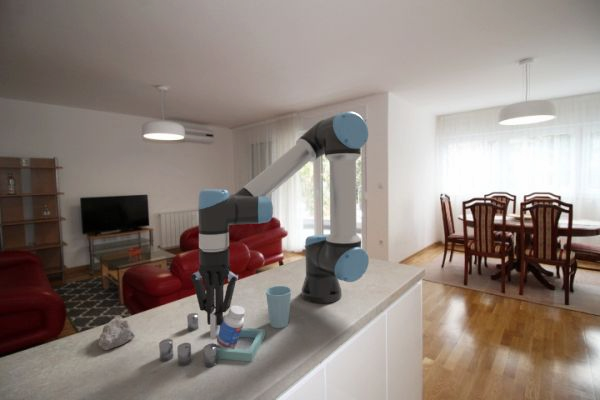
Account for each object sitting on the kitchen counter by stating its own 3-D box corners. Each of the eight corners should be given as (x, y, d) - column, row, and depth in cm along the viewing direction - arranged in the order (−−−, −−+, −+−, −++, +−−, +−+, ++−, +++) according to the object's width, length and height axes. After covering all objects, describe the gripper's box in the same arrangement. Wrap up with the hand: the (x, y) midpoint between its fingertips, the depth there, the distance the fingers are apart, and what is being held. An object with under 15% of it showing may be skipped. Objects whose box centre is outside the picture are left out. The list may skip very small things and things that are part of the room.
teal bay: (264, 336, 78) (264, 329, 78) (251, 361, 67) (251, 353, 67) (233, 333, 80) (233, 327, 80) (216, 358, 69) (215, 350, 69)
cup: (291, 316, 90) (290, 285, 89) (292, 329, 82) (291, 294, 81) (267, 318, 89) (266, 286, 88) (266, 331, 81) (265, 296, 81)
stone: (99, 355, 71) (97, 333, 71) (97, 339, 79) (96, 319, 79) (136, 343, 76) (134, 322, 76) (130, 329, 84) (129, 310, 84)
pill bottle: (231, 352, 71) (242, 319, 70) (212, 344, 72) (223, 310, 71) (239, 340, 76) (250, 309, 75) (221, 332, 77) (232, 301, 76)
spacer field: (241, 328, 83) (241, 315, 83) (212, 369, 65) (212, 352, 65) (192, 324, 86) (191, 311, 85) (150, 363, 67) (149, 347, 67)
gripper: (243, 246, 76) (243, 330, 77) (198, 244, 78) (199, 326, 79) (232, 253, 68) (232, 346, 70) (183, 250, 70) (184, 341, 72)
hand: (215, 336), depth 74 cm, fingers closed
